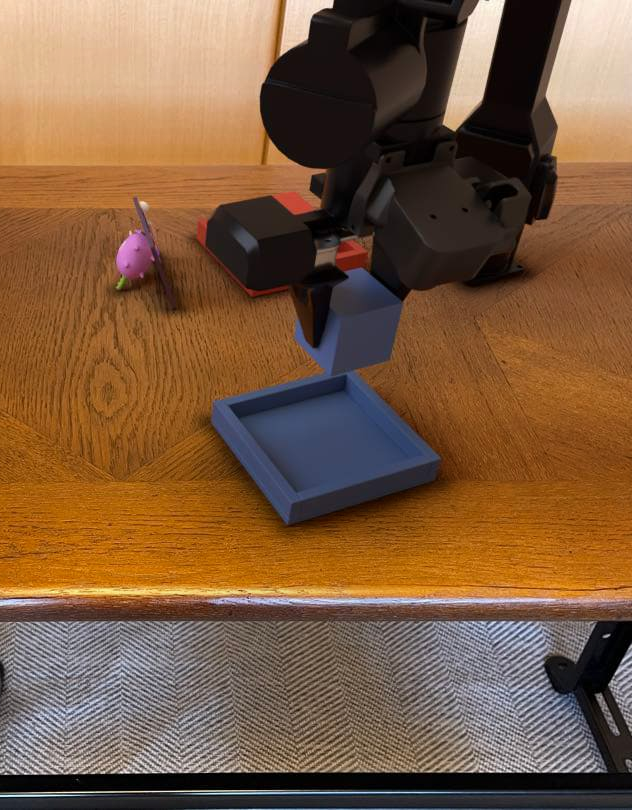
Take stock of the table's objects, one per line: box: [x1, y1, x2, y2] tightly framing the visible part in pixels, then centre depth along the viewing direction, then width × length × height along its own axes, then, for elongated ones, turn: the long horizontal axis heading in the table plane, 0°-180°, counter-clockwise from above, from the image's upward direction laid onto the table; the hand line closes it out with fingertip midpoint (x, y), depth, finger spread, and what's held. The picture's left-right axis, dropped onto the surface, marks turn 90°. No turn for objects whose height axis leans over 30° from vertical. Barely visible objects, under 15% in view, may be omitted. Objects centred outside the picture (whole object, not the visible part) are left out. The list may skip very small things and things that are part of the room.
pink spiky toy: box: [115, 196, 177, 310], centre depth 81 cm, size 7×5×9 cm
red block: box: [271, 191, 316, 215], centre depth 85 cm, size 4×4×4 cm
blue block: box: [293, 268, 404, 377], centre depth 59 cm, size 4×4×4 cm
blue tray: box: [210, 370, 442, 526], centre depth 65 cm, size 12×11×2 cm
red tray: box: [196, 199, 369, 298], centre depth 86 cm, size 12×11×2 cm
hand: (343, 337), depth 60 cm, fingers closed on blue block, 4 cm apart
